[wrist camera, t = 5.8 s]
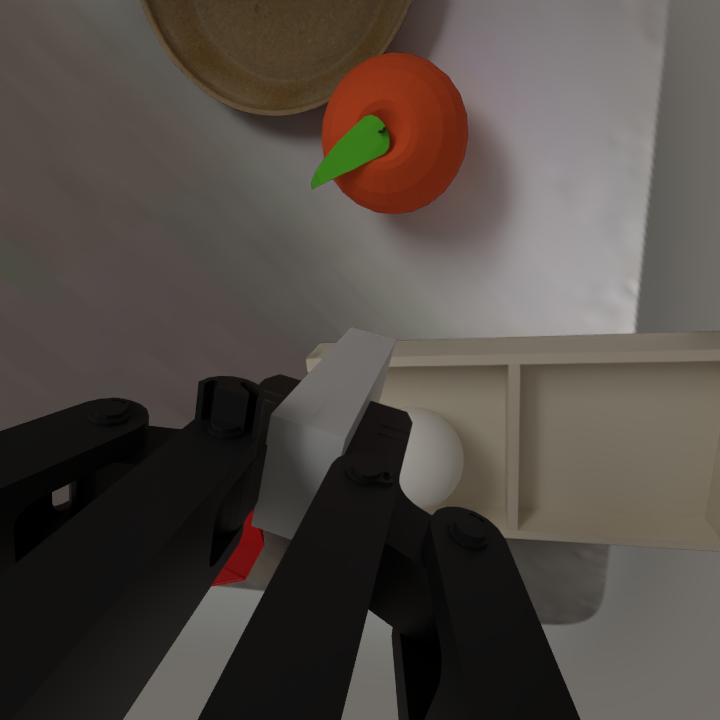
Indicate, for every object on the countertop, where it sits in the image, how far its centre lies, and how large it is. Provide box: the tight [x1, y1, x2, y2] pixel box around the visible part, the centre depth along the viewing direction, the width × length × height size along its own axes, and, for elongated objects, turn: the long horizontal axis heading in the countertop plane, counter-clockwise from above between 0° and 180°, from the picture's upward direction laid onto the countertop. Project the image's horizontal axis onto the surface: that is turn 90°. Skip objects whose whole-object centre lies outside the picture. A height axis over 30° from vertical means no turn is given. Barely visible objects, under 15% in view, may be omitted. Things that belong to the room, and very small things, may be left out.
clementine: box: [311, 52, 468, 214], centre depth 22 cm, size 8×7×7 cm
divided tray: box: [306, 331, 720, 552], centre depth 28 cm, size 12×24×3 cm, turn 96°
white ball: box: [399, 407, 464, 510], centre depth 28 cm, size 6×6×6 cm
